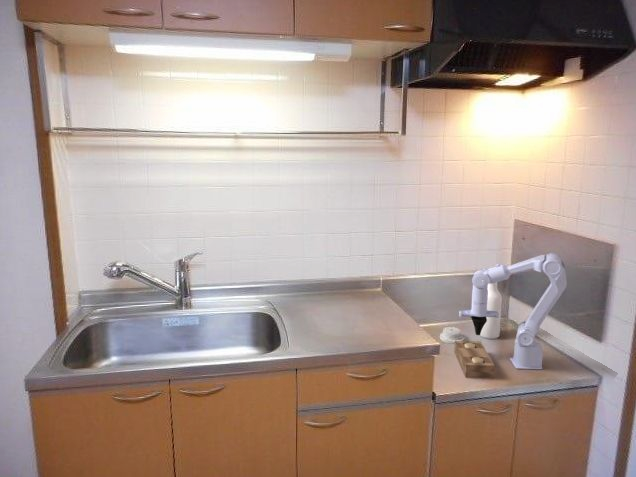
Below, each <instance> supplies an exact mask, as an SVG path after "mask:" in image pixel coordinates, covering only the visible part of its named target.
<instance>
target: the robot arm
mask: <svg viewBox="0 0 636 477" xmlns="http://www.w3.org/2000/svg"><path fill="white" fill-rule="evenodd" d="M565 268H566V267H565V262H564V261H563V259H562V258H561V256H560V255H559V254H557V253H554V252H550V253H547V254H541V255H537V256H535V257H532V258H528V259H525V260H522V261H519V262H517V263H513V264H511V265H505V264H499V263H497V264H495V266H494V267H490V268H489V267H488V268H483V269H479V270H477V271H475V272H474V274H473V276H472V278H471V283H472V291H471V309H468V310H458V311H459V312H458V313H459V314H458V316H459V318H471V320H472V323H473V327H474V333H475V335H476V336H480V333H481V330H482V328H483V326H484V325H485V323H486V322H487V319H486V317H496V318H499V313H498V312H497V311H488V310H487V299H488V290H487V289H488V284H492V283H496V282H497V283H499V282H503V281H506V280H509V278H510V276H511V275H515V274H519V273H524V272H529V271H536V272H538V273H542V271H543V273H544V274H545V275H546V276H547V277H548V279H549V281H550V284H549V285H548V286H547V288H546V289H545V291H544V292H543V294H542V296H541V297H540V299H539V300H538V302H536V305H535V306H534V308H533V309H532V311H530V314H529V316H527V317H525V319H524V321H522V322H520V323H519V324H518V325H517V327H516V328H517V329H516V330H517V331H516V332H517V333H516V337H515V339H514V348H513V350H514V351H513V357H510V358H509V360H510V361H511V364H512V365H513V366H514V367H515V369H517V370H518V369H519V370H543V367H542V365H543V353H544V350H543V346H542V344H541V343H540V342H538V341H536V335H537V334H538V332H539V330H540V327H541V325H542V324H543V322H544V321H545V319H546V317H547V316H548V314H549V313H550V312H551V310H552V308H553V307H554V306H555V305H556V303H557V301H558V299H559V298H560V297H561V295H562V294H563V292H564V291H565V290H566V288H567V286H568V285H567V284H568V282H567V274H566V269H565Z"/></svg>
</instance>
